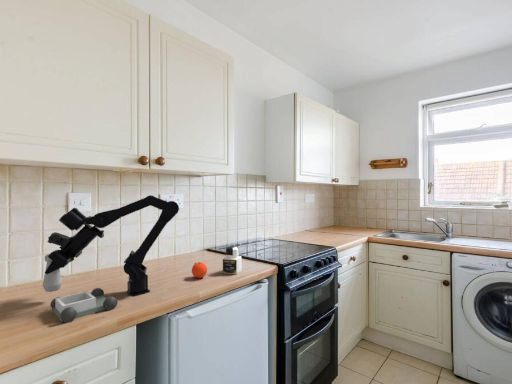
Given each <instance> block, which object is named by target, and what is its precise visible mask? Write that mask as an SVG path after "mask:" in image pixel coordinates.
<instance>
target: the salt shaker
mask: <svg viewBox="0 0 512 384" xmlns="http://www.w3.org/2000/svg"><path fill="white" fill-rule="evenodd" d="M49 254H50V253H48V254H46V255H44V261H45V262H46V265H45V270H44V276H43V281H42V288H43V290H44V291H45V292H48V293H51V292H57V291H59V290H60V289H61V287H62V285H63V278H62V273H61V270H60V269H61V268H60V269H58V270H55V271H53V272H51V273H49V274H46V273H45V271H46V270H47V268H48V267H49V265H50V263H51V262H52V260H51V259H50V258H48V255H49Z"/></svg>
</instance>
